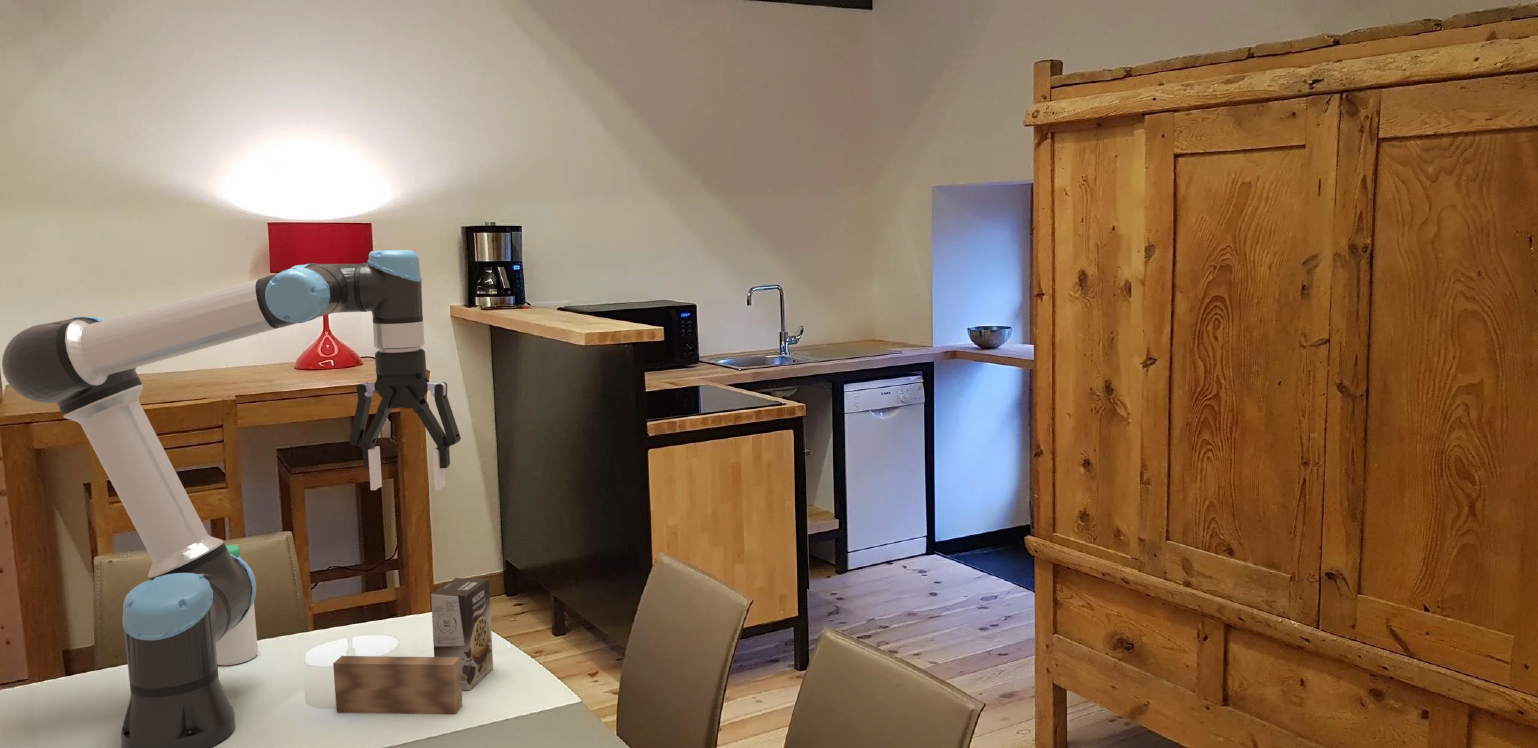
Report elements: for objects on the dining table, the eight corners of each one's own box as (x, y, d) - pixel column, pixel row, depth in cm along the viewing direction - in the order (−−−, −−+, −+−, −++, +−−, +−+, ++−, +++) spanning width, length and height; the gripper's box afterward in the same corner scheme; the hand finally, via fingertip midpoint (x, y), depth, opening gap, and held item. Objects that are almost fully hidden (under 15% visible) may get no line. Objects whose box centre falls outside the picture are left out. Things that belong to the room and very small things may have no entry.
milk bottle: (267, 655, 201) (258, 545, 198) (226, 670, 195) (217, 557, 192) (241, 646, 205) (232, 539, 202) (200, 661, 199) (190, 550, 196)
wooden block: (336, 712, 177) (333, 663, 176) (344, 704, 180) (341, 656, 179) (455, 714, 176) (453, 665, 175) (462, 705, 179) (459, 657, 178)
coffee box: (470, 691, 185) (465, 595, 182) (434, 688, 186) (428, 593, 184) (495, 669, 193) (490, 578, 191) (460, 666, 195) (455, 576, 192)
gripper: (477, 345, 181) (484, 482, 184) (340, 346, 182) (350, 482, 185) (462, 351, 173) (469, 494, 176) (319, 352, 175) (329, 493, 178)
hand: (408, 488), depth 181 cm, fingers open, 10 cm apart
